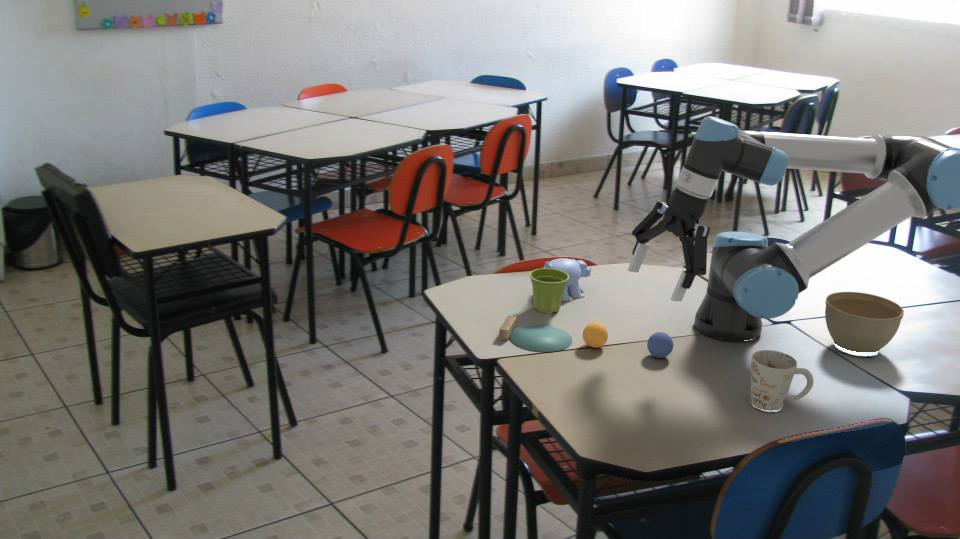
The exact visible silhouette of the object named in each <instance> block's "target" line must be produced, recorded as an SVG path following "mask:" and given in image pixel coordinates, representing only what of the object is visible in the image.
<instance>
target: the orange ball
mask: <svg viewBox="0 0 960 539" xmlns="http://www.w3.org/2000/svg"><path fill="white" fill-rule="evenodd" d="M608 338H609V332H608V330H607V328H606V326H605V325H604V324H602V323H601V322H595V321H594V322H591V323H588V324H587V325H586V326H585V327H584V329H583V331H582V339H583V342H584V343H585V344H586V345H587V346H588V347H590V348H592V349H597V348H601V347H603V346H604V345H606V343H607V341H608Z"/></svg>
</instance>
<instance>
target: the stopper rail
mask: <svg viewBox="0 0 960 539" xmlns="http://www.w3.org/2000/svg"><path fill="white" fill-rule="evenodd" d="M515 328H517V316H513V315H507V317H506V318H505V319H504V322H503V323H502V325H501V326H500V328H499V330H498V331H499V333H498V340H499V341H500V340H501V341H506V342H508V341H510V339H509V337H510V336H511V334H512V332H513V330H514V329H515Z"/></svg>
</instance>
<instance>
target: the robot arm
mask: <svg viewBox="0 0 960 539" xmlns="http://www.w3.org/2000/svg"><path fill="white" fill-rule="evenodd" d="M787 169H792V170H793V169H794V170H806V171H823V172H838V173H850V174H851V173H852V174H864V176H865V177H866V178H868V179H872V180H873V179H874V180H881V181H885V183H884V184H882V185H880V186H878V187H877V188H875V189H874V190H872V191H871V192H869V193H867V194H866V195H864V196H863V197H861V198H859V199H858V200H856V201H854V202H853V203H851V204H850V205H847V206H846V207H844V208H842V209H841V210H840V211H838V212H836V213H835V214H833V215H831V216H830V217H827V219H825V220H823V221H822V222H820V223H818V224H817V225H815V226H814V227H812V228H810V229H809V230H807V231H806V232H804V233H803V234H800V235H799V236H798V237H795V238H794V239H793V240H791V241H789V242H788V243H783V242H781V243H780V242H774V243H772V244H771V245H769V244H768V243H769V242H768V238H767V237H766V236H764V235H762V234H758V233H754V232H747V231H746V232H745V231H724V232H719V233H718V234H716V235H715V237H714V240H713V244H712V246H711V249H712V250H711V258H710V265H709V272H708V279H707V280H708V281H707V287H706V291H705V292H706V293H705V295H704V297H703V299H702V302H701V303H700V305H699V306H698V309H697V311H696V313H695V315H694V316H695V317H694V322H693V326H694V327H695V329H697V331H698V332H700V333H701V334H703V335H706V336H708V337H711V338H713V339H716V338H717V340H720V339H722V340H721V341H725V340H728V341H727V342H734V341H744V340H750V339H754V338H756V337H758V336H759V335H760V334H761V335H762V330H763V321H762V320H763V319H765V320H767V319H769V320H770V319H775V318H779V317H782V316H783V315H785V314H786V313H788V312H790V310H792V309H793V307H795V305H796V301H797V300H798V298H799V294H800V293H802V292H804V291H805V290H806V289H808V287H809V283H810V282H809V281H810V279H811V278H812V277H814V276H816V275H817V274H819V273H821V272H822V271H824V270H825V269H827V268H829V267H830V266H832V265H834V264H835V263H837V262H839V261H840V260H842V259H844V258H846V257H848V256H849V255H851V253H853V252H855V251H857V250H858V249H860V248H862V247H863V246H866V245H867V244H868V243H870V242H872V241H874V240H875V239H876V238H878V237H880V236H882V235H883V234H885V233H887V232H889V231H890V230H891V229H893V228H895V227H897V226H898V225H899V224H901V223H903V222H904V221H906V220H908V219H910V218H911V217H912V218H914V217H915V218H917V219H918V218H919V219H924V218H926V217H927V216H928V215H930V214H932V213H934V212H936V211H937V210H939V209H940V210H945V211H948V210H949V211H952V210H957V209H960V148H957V147H952V146H949V145H948V144H945V143H942V142H940V141H938V140H936V139H933V138H931V137H926V136H921V135H920V136H919V135H901V134H899V135H898V134H896V135H894V134H892V135H891V134H872V135H871V136H869V138H866V137H865V138H862V137H846V136H835V135H834V136H832V135H831V136H830V135H818V134H817V135H815V134H805V133H802V134H800V133H788V132H772V131H771V132H770V131H755V130H745V129H744V130H742V128H739V126H738V125H736V124H734V123H732V122H730V121H727V120H724V119H722V118H720V117H716V116H710V115H709V116H708V115H707V116H705V117H704V118H703V119H702V121H701V122H700V124H699V127H698V128H697V130H696V132H695V134H694V138H693V141H692V143H691V146H690V148H689V151H688V153H687V156H686V158H685V160H684V163H683V165H682V168H681V171H680V172H679V176H678V178H677V181H676V183H675V184H676V185H677V186H675V187H673V190H672V192H671V193H670V194H671V195H670V196H669V200H668V203H667V202H663V201H656V203H655V204H654V207H653V209H652V210H651V211H650V212H649V213H648V214H647V215H646V216H645V217H644V218H643V219H642V220H641V221H640V223H638V225H636V227H634V229H633V230H632V231H631V236H634V238H636V239H635V241H636V243H635V245H634V247H633V249H632V254H631V255H632V258H631V260H630V263H629V265H628V267H627V271H628V273H629V272H630V273H639V272H640V269H641V268H642V264H643V262H644V259H645V256H646V254H647V252H648V250H649V248H650V244H648V243H650V241H651V240H653V239H655V238H656V237H658V236H661V235H662V234H663V233H665V232H666V231H667V232H669V233H672V234H673V235H674V236H676V237H678V238H679V241H680V242H681V246H682V254H683V260H684V265H685V270H681V273H680V275H679V278H678V280H677V282H676V284H675V285H676V286H674V290H673V292H672V294H671V297H670V300H671V301H672V302H682V301H683V299H684V296H685V294H686V291H687V290H689V289H691V287H692V285H693V282H694V280H695V278H696V276H705V275H706V274H707V262H708V261H707V260H708V259H707V258H708V237H709V235H710V231H711V227H710V226H706V225H702V224H700V219H701V217H703V216H704V214H705V211H706V210H707V207H708V205H709V202H710V201H709V199H708V198H711V197H712V196H713V193H714V191H715V189H716V186H717V184H718V181H719V179H720V177H721V174H722V172H725V173H727V174H731V175H734V176H737V177H740V178H743V179H746V180H749V181H753V182H756V183H757V184H759V185H760V184H762V185H767V186H770V187H772V186H775V185H777V184H778V183H780V182H781V181H782V180H783V178H784V176H785V174H786V171H787ZM668 204H669V205H668ZM663 215H664V218H663V219H662V220H660V219H661V218H662V217H663ZM659 220H660V221H659ZM658 221H659V222H658ZM656 223H657V224H656ZM655 224H656V225H655ZM761 335H760V336H761ZM760 336H759V337H760ZM759 337H758V338H759ZM754 340H755V339H754ZM744 342H745V341H744Z"/></svg>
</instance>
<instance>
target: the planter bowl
mask: <svg viewBox="0 0 960 539" xmlns="http://www.w3.org/2000/svg"><path fill="white" fill-rule="evenodd" d="M903 308H904V307H902V306H901V305H899V303H897V302H895V301H893V300H891V299H888V298H886V297H883V296H881V295H880V296H879V295H877V294H876V295H875V294H872V293H867V292H866V293H865V292H860V291H859V292H858V291H839V292H833V293H831V294H828V295H827V296H826V297H825V310H824V311H825V312H824V314H825V323H826V327H827V331H828V333H829V335H830V337H831V338H832V341H834V343H835V344H837V345H838V346H840V347H842V348H845V349H847V350H851V351H856V352H876V351H879V350H880V351H881V349H883V348H884V347H886V346H887V345H888V344H889V343H890V341H891V340H892V339H893V338H894V337H895V336H896V334H897V332H898V331H899V327H900V325H901V321H902V319H903V317H904V314H905V310H904V309H903ZM880 351H879V352H880Z"/></svg>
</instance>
